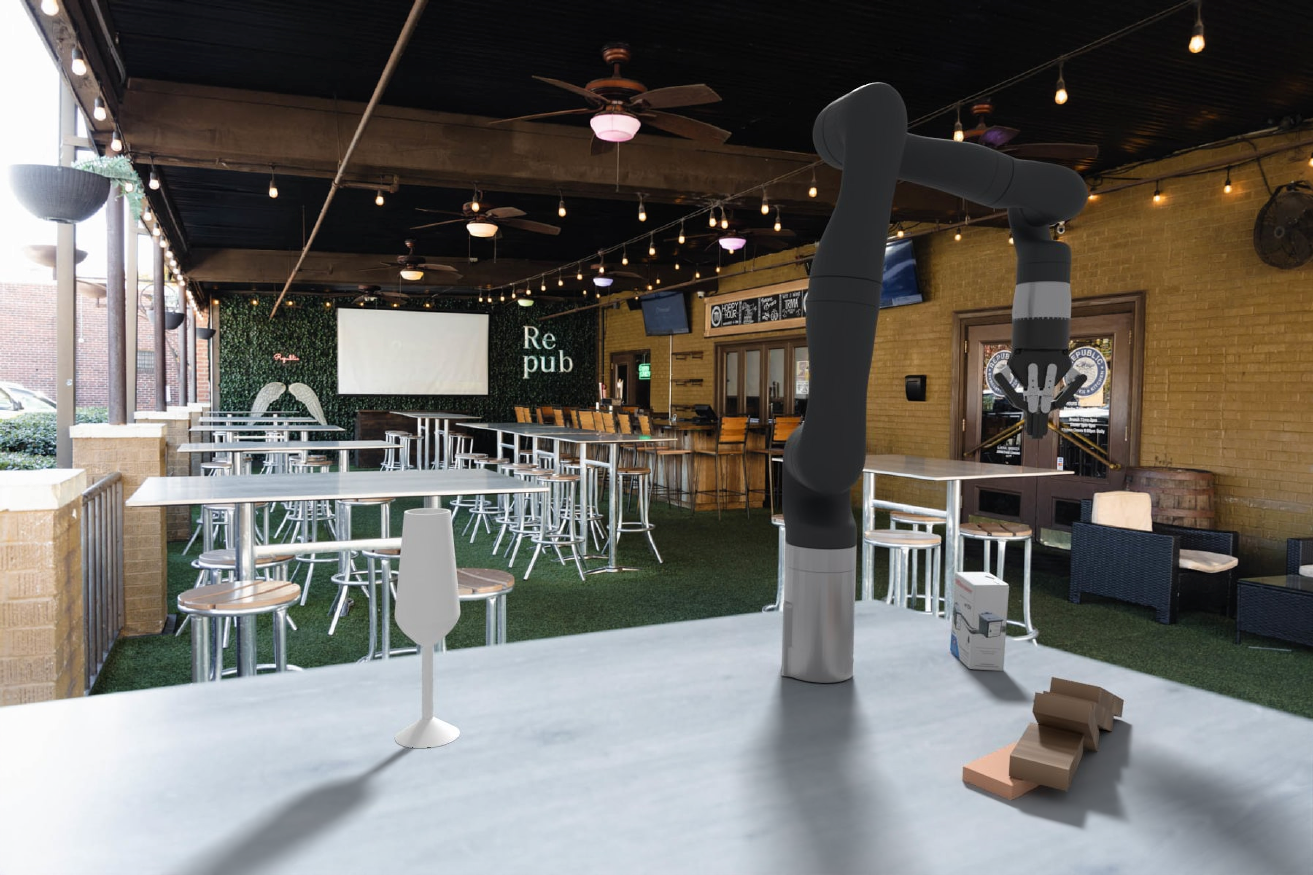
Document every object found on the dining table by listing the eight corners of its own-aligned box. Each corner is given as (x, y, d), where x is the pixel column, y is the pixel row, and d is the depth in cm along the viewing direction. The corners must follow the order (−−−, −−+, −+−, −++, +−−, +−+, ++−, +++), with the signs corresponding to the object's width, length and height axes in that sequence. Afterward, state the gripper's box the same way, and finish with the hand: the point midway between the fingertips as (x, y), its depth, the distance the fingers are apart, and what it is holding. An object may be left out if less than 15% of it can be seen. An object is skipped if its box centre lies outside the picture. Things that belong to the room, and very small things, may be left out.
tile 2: (1066, 702, 99) (1043, 690, 91) (1114, 713, 95) (1094, 701, 88) (1063, 719, 98) (1040, 709, 91) (1111, 731, 95) (1091, 721, 88)
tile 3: (1047, 721, 93) (1035, 692, 86) (1099, 733, 90) (1090, 703, 83) (1045, 740, 92) (1032, 711, 85) (1097, 752, 89) (1088, 723, 82)
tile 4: (1030, 722, 88) (1009, 755, 80) (1084, 734, 86) (1068, 769, 77) (1029, 741, 89) (1008, 775, 80) (1082, 753, 86) (1067, 791, 77)
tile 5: (1017, 740, 89) (962, 766, 82) (1065, 758, 85) (1011, 785, 79) (1016, 759, 89) (962, 786, 83) (1064, 777, 85) (1010, 806, 79)
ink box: (949, 651, 124) (951, 570, 123) (984, 651, 124) (987, 571, 123) (969, 670, 115) (972, 584, 115) (1007, 671, 115) (1010, 584, 114)
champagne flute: (428, 718, 96) (428, 505, 94) (473, 731, 92) (474, 510, 91) (380, 738, 90) (380, 512, 89) (427, 753, 87) (427, 518, 85)
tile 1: (1077, 690, 102) (1051, 676, 95) (1123, 699, 99) (1100, 686, 92) (1075, 707, 102) (1049, 694, 95) (1121, 717, 99) (1097, 705, 92)
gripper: (997, 314, 119) (992, 439, 120) (1100, 314, 116) (1093, 442, 117) (986, 319, 126) (981, 436, 127) (1082, 319, 124) (1077, 439, 125)
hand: (1035, 439), depth 122 cm, fingers closed
